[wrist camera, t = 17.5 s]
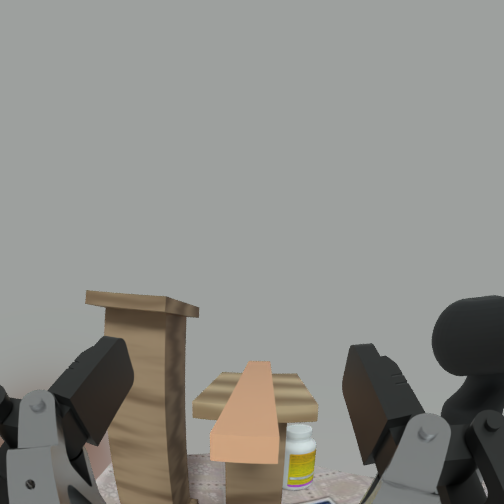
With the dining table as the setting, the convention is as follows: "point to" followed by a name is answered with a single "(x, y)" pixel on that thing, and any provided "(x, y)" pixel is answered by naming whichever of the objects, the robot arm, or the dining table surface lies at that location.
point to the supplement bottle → (299, 457)
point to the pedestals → (180, 408)
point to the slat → (248, 420)
